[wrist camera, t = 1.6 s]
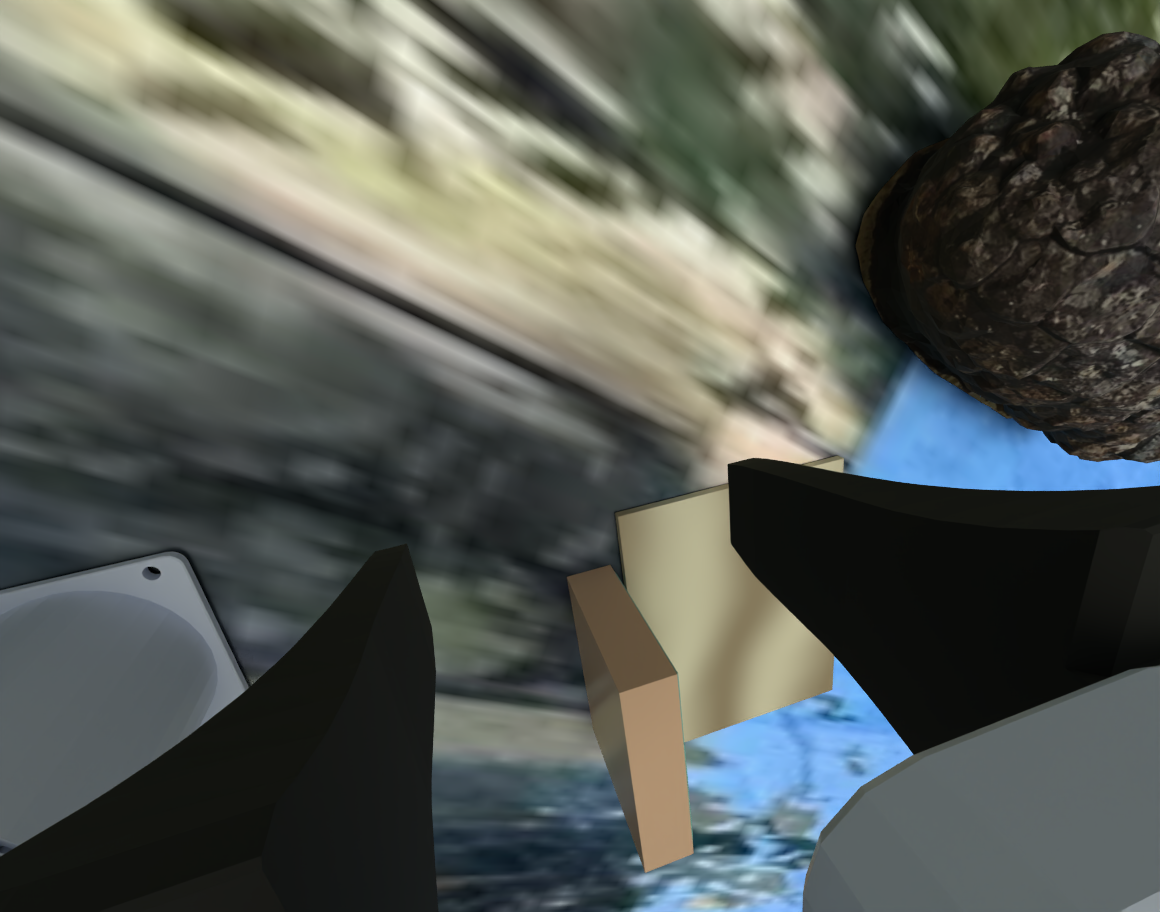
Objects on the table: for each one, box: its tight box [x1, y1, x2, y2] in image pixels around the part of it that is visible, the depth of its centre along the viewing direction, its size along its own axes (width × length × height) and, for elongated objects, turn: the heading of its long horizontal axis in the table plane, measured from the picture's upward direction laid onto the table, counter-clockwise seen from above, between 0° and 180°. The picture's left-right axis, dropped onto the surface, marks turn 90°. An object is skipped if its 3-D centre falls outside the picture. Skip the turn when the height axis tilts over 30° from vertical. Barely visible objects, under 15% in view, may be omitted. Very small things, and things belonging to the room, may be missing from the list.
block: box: [567, 565, 693, 873], centre depth 22 cm, size 2×9×7 cm, turn 8°
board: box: [615, 456, 844, 742], centre depth 26 cm, size 11×14×1 cm
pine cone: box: [856, 31, 1160, 463], centre depth 20 cm, size 10×18×10 cm, turn 60°
